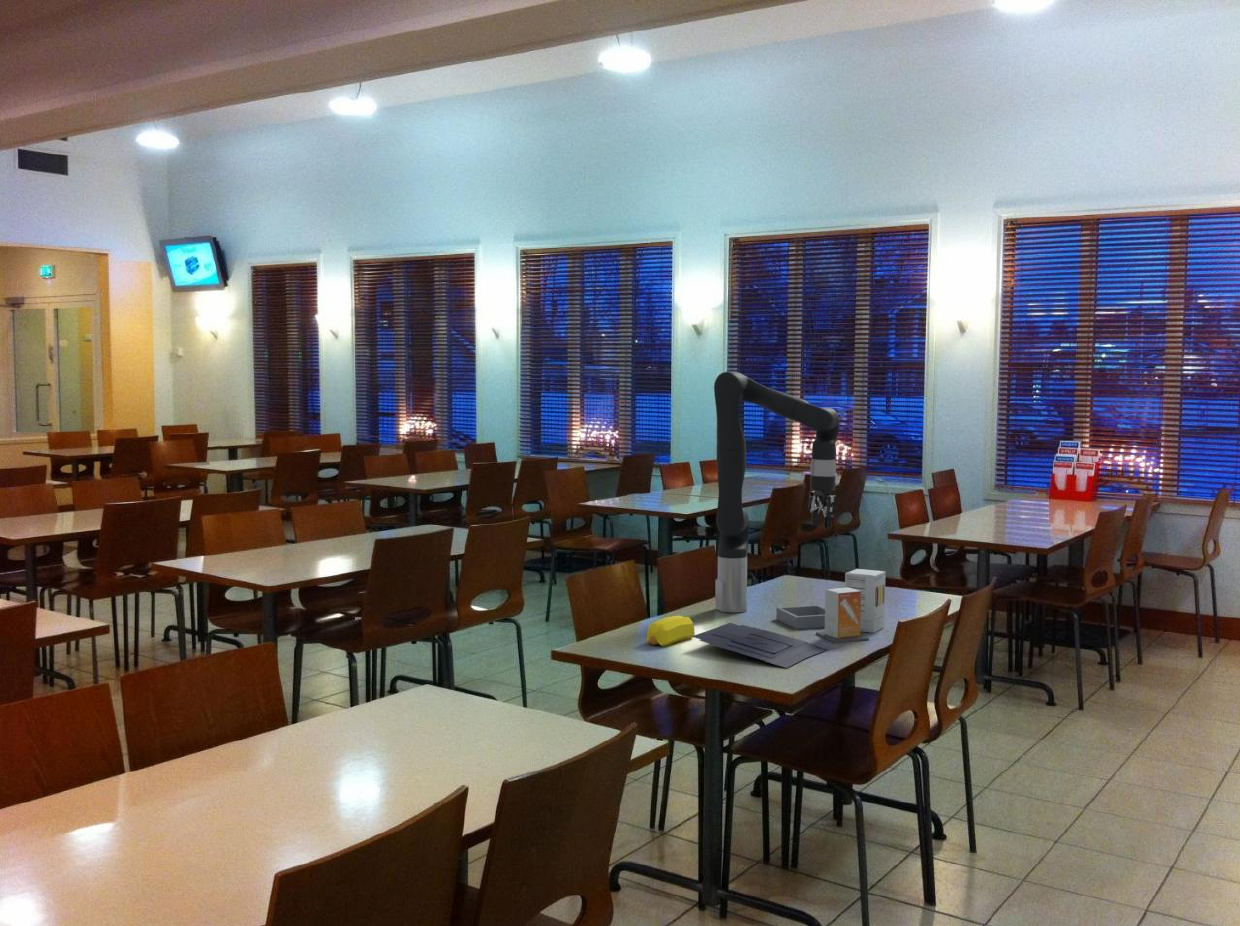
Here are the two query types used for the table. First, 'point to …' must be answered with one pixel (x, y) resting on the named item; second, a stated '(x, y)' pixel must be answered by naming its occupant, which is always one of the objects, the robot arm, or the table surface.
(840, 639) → the charcoal mat
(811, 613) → the grey bin
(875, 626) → the supplement box
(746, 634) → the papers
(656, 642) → the yellow faceted capsule
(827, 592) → the small box
